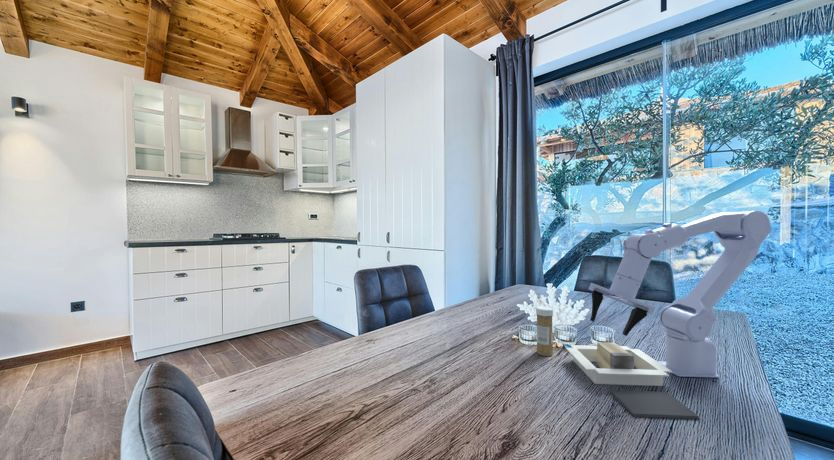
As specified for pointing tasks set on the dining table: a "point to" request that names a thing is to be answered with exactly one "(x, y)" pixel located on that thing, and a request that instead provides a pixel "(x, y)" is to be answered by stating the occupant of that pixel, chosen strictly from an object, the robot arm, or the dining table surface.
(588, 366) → the white flat frame
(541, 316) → the sprinkles bottle
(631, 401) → the rubber mat
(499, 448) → the dining table surface
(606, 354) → the birch block
